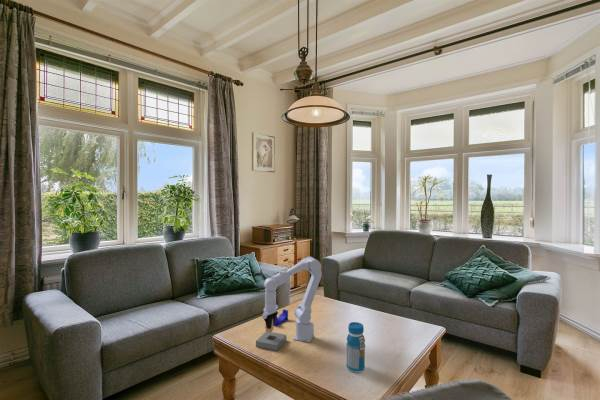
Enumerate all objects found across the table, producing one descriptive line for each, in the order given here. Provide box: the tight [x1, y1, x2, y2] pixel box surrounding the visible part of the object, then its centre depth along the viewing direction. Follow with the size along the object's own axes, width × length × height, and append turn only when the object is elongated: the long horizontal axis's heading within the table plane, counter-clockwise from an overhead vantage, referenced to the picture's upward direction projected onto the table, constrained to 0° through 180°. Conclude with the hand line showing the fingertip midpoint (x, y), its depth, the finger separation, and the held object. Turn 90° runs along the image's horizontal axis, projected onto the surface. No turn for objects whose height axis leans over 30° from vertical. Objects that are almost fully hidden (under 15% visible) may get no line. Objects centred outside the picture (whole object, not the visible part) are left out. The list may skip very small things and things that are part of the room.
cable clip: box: [273, 309, 289, 327], centre depth 191 cm, size 12×4×6 cm, turn 144°
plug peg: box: [265, 320, 274, 332], centre depth 165 cm, size 3×3×6 cm
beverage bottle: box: [345, 321, 366, 374], centre depth 142 cm, size 8×8×20 cm
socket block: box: [255, 330, 287, 352], centre depth 165 cm, size 12×12×3 cm
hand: (270, 326), depth 165 cm, fingers closed on plug peg, 3 cm apart
